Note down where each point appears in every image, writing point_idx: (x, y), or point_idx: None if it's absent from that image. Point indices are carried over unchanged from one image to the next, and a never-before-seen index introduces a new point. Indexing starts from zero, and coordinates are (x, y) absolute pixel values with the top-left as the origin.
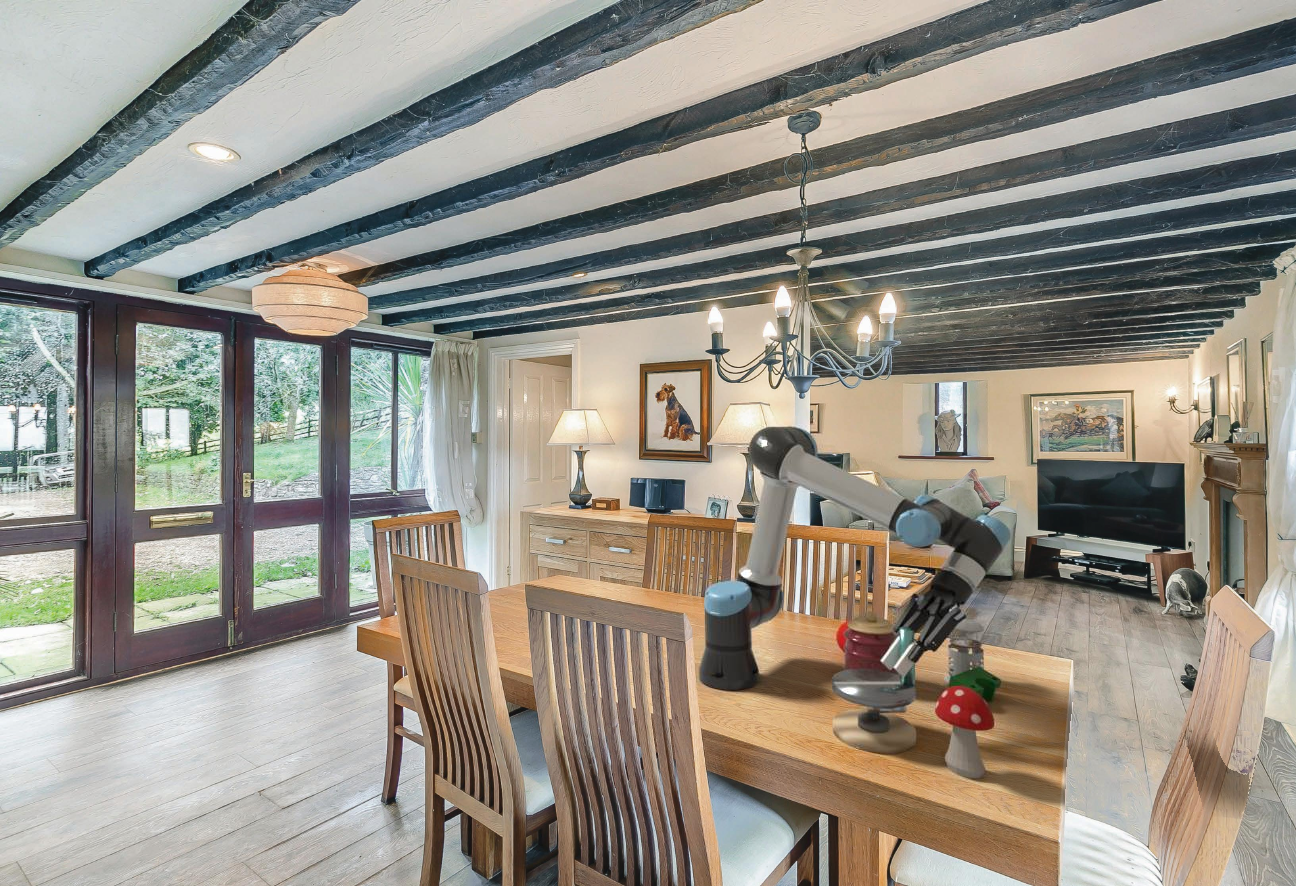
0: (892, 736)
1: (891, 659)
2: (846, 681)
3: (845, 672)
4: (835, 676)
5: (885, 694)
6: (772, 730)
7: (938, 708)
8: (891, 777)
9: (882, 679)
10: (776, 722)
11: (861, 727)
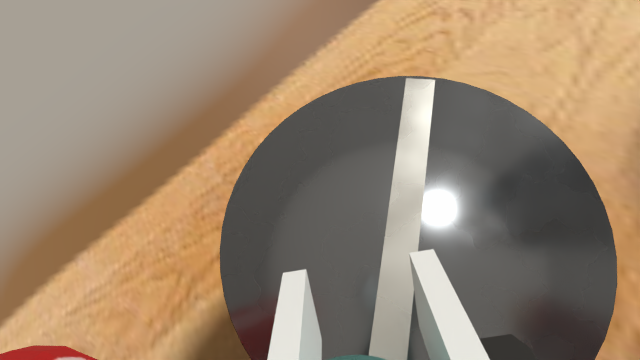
0: None
1: (425, 322)
2: (436, 129)
3: (551, 162)
4: (498, 105)
5: (274, 224)
6: (445, 38)
7: (49, 351)
8: (181, 215)
9: None
10: (491, 54)
11: None
